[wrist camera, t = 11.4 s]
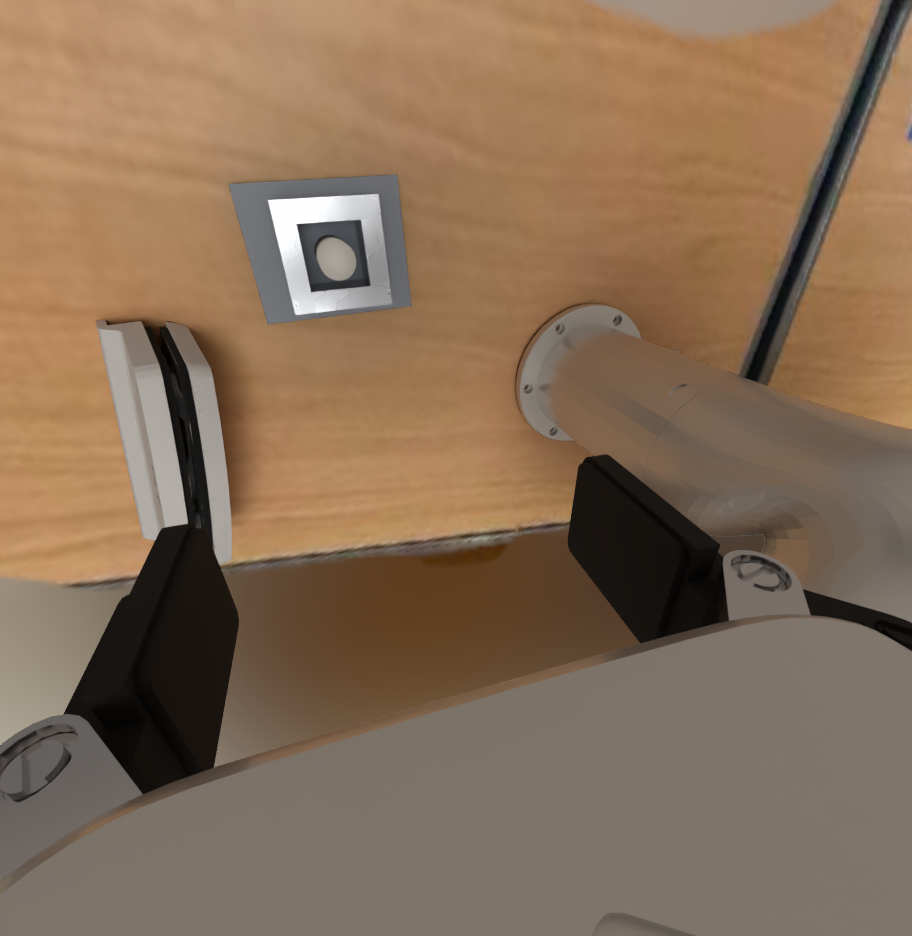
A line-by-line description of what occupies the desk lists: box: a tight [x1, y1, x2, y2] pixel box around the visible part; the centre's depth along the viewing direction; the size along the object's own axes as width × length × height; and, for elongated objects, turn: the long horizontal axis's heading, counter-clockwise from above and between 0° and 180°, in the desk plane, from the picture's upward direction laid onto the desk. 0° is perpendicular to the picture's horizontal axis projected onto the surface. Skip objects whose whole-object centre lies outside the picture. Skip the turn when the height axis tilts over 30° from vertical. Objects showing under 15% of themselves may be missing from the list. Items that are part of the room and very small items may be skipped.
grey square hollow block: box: [268, 194, 392, 315], centre depth 27 cm, size 6×6×4 cm
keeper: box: [229, 175, 411, 324], centre depth 27 cm, size 10×8×7 cm
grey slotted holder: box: [96, 320, 232, 565], centre depth 29 cm, size 17×5×10 cm, turn 170°
